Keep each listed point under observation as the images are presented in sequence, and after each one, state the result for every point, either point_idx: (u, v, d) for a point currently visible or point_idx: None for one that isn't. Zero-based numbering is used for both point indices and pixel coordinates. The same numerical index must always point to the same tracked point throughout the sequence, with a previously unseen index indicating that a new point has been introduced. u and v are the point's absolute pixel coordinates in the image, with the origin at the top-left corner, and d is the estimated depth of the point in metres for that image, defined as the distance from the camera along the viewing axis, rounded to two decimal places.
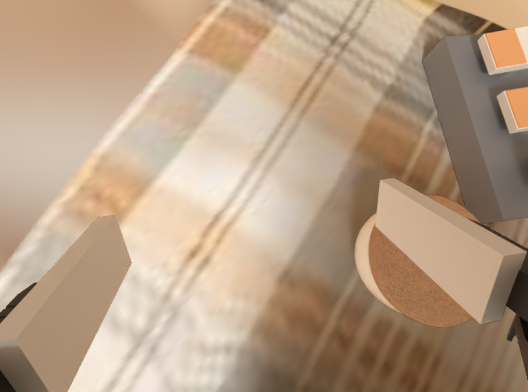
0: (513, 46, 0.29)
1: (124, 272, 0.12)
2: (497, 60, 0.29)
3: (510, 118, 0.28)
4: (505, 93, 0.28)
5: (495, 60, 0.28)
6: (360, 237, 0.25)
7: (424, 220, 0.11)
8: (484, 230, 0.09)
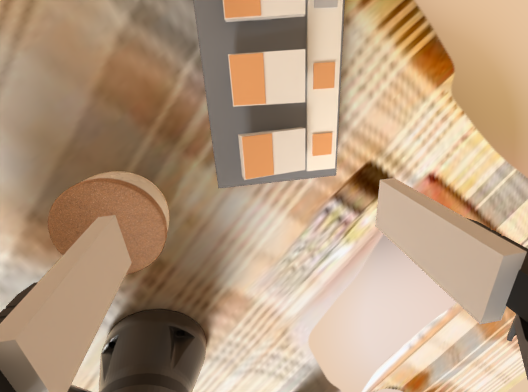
0: None
1: (124, 272, 0.12)
2: (228, 5, 0.22)
3: (232, 90, 0.25)
4: (229, 57, 0.24)
5: (224, 5, 0.22)
6: None
7: (424, 220, 0.11)
8: (484, 230, 0.09)
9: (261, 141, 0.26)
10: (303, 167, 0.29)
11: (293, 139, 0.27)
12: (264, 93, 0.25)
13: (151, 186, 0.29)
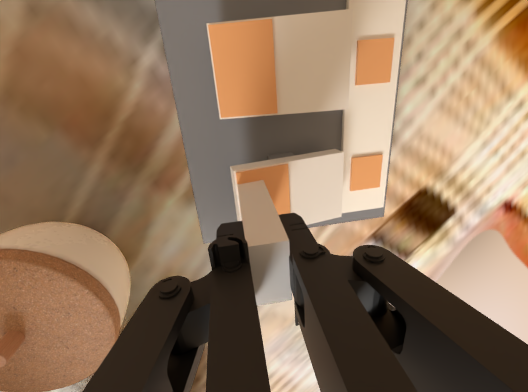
0: None
1: None
2: None
3: None
4: (209, 30, 0.13)
5: None
6: None
7: None
8: (278, 223, 0.10)
9: (270, 178, 0.15)
10: (338, 213, 0.18)
11: (324, 171, 0.16)
12: (275, 95, 0.14)
13: (94, 247, 0.18)
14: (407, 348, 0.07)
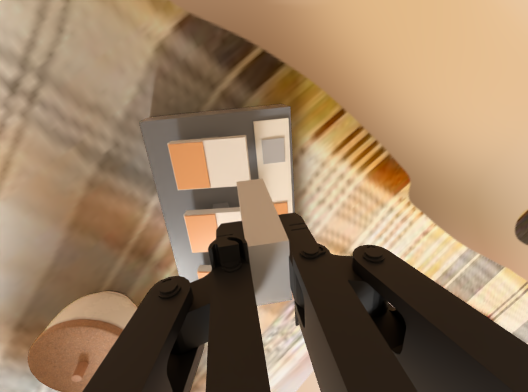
0: (197, 166, 0.24)
1: None
2: (180, 180, 0.24)
3: None
4: (185, 217, 0.26)
5: (176, 181, 0.24)
6: None
7: None
8: (278, 223, 0.10)
9: None
10: None
11: None
12: None
13: (123, 311, 0.31)
14: (407, 348, 0.07)
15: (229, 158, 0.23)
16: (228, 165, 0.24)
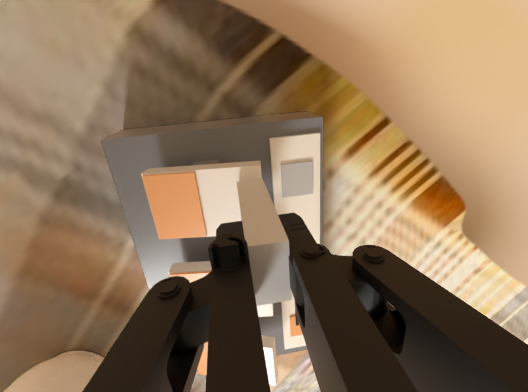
0: (188, 207, 0.16)
1: None
2: (162, 225, 0.17)
3: None
4: (170, 275, 0.18)
5: (156, 227, 0.16)
6: None
7: None
8: (278, 223, 0.10)
9: None
10: (273, 382, 0.22)
11: None
12: None
13: None
14: (407, 348, 0.07)
15: (234, 196, 0.16)
16: (233, 205, 0.16)
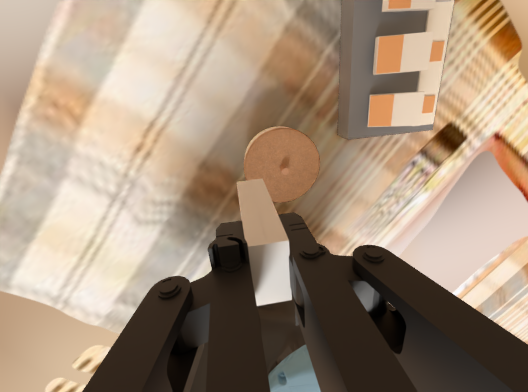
0: None
1: None
2: None
3: (375, 63, 0.35)
4: (379, 39, 0.34)
5: (390, 0, 0.31)
6: (246, 149, 0.38)
7: None
8: (278, 223, 0.10)
9: (384, 99, 0.37)
10: (418, 123, 0.37)
11: (412, 100, 0.36)
12: (399, 64, 0.35)
13: None
14: (407, 348, 0.07)
15: None
16: None
